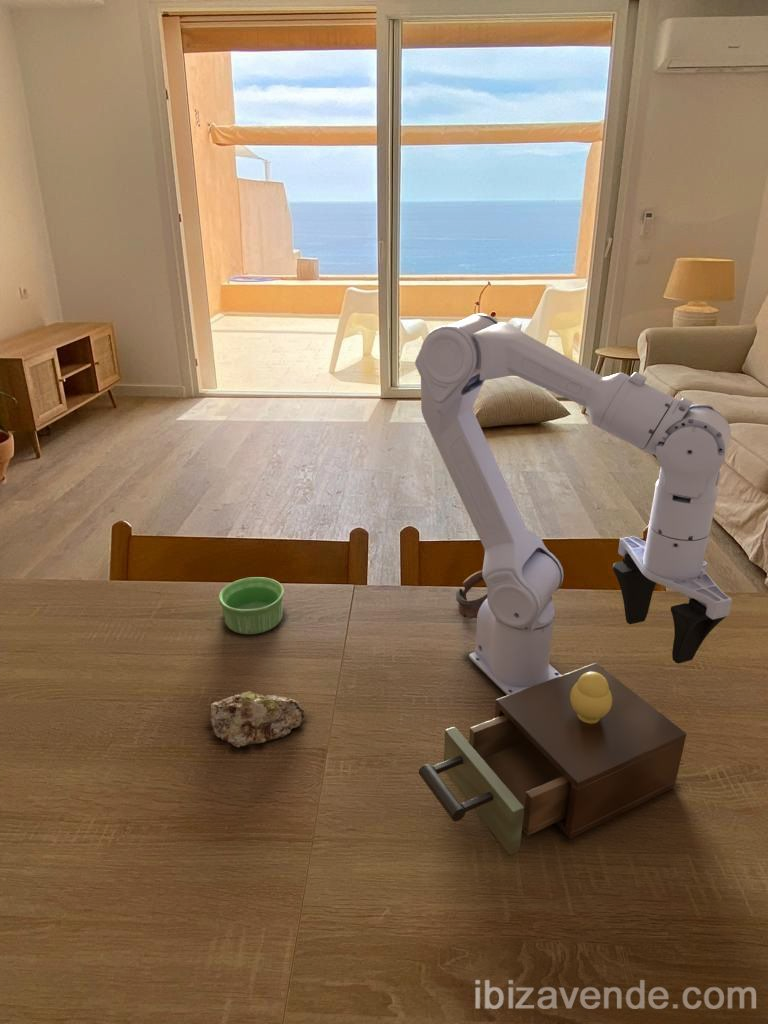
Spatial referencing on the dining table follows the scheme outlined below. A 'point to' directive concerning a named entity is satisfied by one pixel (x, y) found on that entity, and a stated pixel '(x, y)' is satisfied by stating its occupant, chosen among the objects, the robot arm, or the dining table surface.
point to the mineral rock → (254, 718)
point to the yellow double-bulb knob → (591, 697)
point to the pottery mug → (465, 606)
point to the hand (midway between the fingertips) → (657, 639)
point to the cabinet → (598, 747)
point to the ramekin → (252, 604)
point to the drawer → (500, 781)
